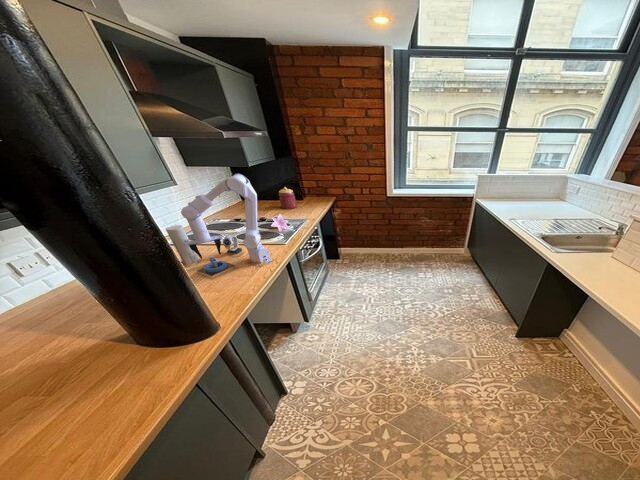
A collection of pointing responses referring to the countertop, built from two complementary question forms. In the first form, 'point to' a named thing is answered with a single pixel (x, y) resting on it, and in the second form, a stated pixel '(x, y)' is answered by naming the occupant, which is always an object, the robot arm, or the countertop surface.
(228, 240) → the watch
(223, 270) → the platform
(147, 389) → the countertop surface
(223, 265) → the ring
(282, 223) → the lily
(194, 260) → the spray can
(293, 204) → the kitchen canister
